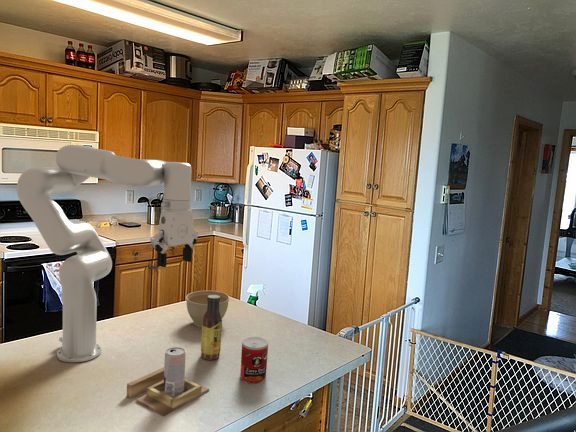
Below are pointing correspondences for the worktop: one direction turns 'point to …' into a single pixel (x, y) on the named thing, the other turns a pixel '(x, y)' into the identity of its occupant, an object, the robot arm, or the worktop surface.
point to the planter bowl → (204, 305)
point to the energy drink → (174, 372)
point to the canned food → (254, 359)
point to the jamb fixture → (155, 392)
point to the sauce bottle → (211, 329)
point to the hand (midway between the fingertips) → (174, 263)
